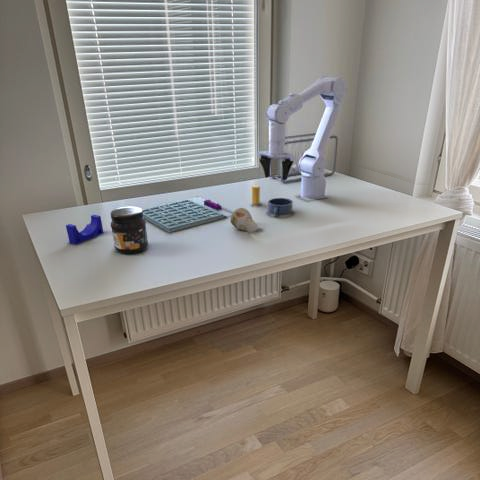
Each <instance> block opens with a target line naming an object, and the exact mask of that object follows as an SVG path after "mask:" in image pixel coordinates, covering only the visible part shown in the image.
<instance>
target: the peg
mask: <svg viewBox="0 0 480 480" xmlns="http://www.w3.org/2000/svg"><path fill="white" fill-rule="evenodd" d="M260 203H261V186H260V185H257V184H255V185H252V186H251V204H252V205H259V204H260Z"/></svg>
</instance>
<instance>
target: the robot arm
mask: <svg viewBox="0 0 480 480" xmlns="http://www.w3.org/2000/svg"><path fill="white" fill-rule="evenodd" d="M345 81H346V80H345V79H344V78H343V77H334V76H333V77H332V76H321V77H320V78H317V79H316V80H315V82H313V83H311V85H309V86H308V87H306V88H305V89H303V90H302V91H301V92H300V93H297V92H290V93H289V94H288V96H287V97H285V98H284V99H280V100H279V101H278V103H273V104H271V105H270V106H269V107H268V109H267V111H266V112H265V116H266V119H267V121H268V150H259V151H258V158H259V163H260V164H261V167H262V169H263V173H264V178H265V179H266V178H270V177H271V176H270V162H271V158H273V159H276V160H281V159H283V160H284V161H282V167H283V180H288V177H289V176H288V173H289V170H290V168H291V166H292V167H293V164H294V162H295V161H296V159H295V153H294V154H293V153H292V154H291V153H289V152H286V151H285V150H286V149H285V147H286V145H285V141H286V139H285V137H286V123H287V121H288V120H289V118H290V116H292V115H293V114H295V113H297V112H298V111H300V110H301V109H302V108H303V106H304V105H303V104H304V103H306V102H308V101H310V100H312V99H313V98H315V97H318V96H319V97H320V98H321V99H322V101H323V102H324V104H325V110H324V112H323V115H322V117H321V120H320V123H319V125H318V128H317V130H316V132H315V133H316V135H315V136H314V137H313V138H314V140H313V141H312V143H311V146H310V147H309V148H308V149H306V150H305V151H304V152H303V157H302V156H301V158H300V159H299V161H298V163H297V165H298V167H299V170H300V171H299V172H301V174H300V175H301V178H302V180H301V182H300V183H301V184H300V185H301V186H300V196H301V197H303V198H305V199H314V200H321V199H326V198H327V196H326V185H327V180H326V176H324V175H323V174H324V172H325V169H326V162H327V160H328V159H327V157H326V155H325V150H326V149H327V146H328V143H329V141H330V139H329V138H330V136H332V133H333V130H334V128H335V125H336V123H337V120H338V117H339V115H340V113H341V110H342V107H343V103H344V102H343V101H344V97H345V95H346V92H347V90H348V88H347V84H346V82H345Z"/></svg>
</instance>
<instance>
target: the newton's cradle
mask: <svg viewBox="0 0 480 480" xmlns="http://www.w3.org/2000/svg"><path fill="white" fill-rule="evenodd" d="M316 133H317V132H312V133H305V134H303V133H302V134H295V135H288V136H285V146H286V145H290V144H300V143H309V142H313V140H314V138H315V135H316ZM330 139H334V152H333V163H332V170H331V172H327V171H324V172H323V173H322V174H323V175H324V176H325V177H329V176H333V175H334V174H335V172H336V164H337V154H338V153H337V152H338V144H339V139H338V136H337V135H335V134H333V135H331V136H330V138H329V140H330ZM300 146H301V145H299V147H298V150H300V149H301V147H300ZM305 146H306V147H305V149H307V148H308V145H305ZM293 147H294V145H292V146H291V149H293ZM290 154H293V152H291V153H290ZM299 154H300V152H298V153H297V155H296V152H294V155H295V160H296V162H299V161H298V159H299V158H297V156H299ZM303 155H304V152H303V151H301V158H302V157H303ZM273 159H274V158H271V162H270V176H269V177H270V178H271V179H277V180H279V181H281V182H282V183H283V184H288V183H294V182H300V181H302V177H297V178H292V179H291V178H290V179H286V180H283V167H282V161H285V160H283V159H280V174H277V175H276V174H275V175H274V174H273V163H274V161H273ZM298 175H302V174H301V171H300V170H299V167H298V163H295V164H294V165H292V166H291V168H290V170H289V173H288V177H292V176H298Z"/></svg>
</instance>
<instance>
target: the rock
mask: <svg viewBox="0 0 480 480" xmlns="http://www.w3.org/2000/svg"><path fill="white" fill-rule="evenodd" d="M230 224H231V225H232V226H233V227H234V228H235V229H238V230H243V231H246V232H247V233H248V234H252V233H254V232H257V231H258V230H260V228H259V225H258V223H257V222H255V220H254V219H253V217H252V214H251V212H250V211H249V209H247V208H244V207H239V208H237V209H235V210H234V211H233V212H232V214H231V215H230Z"/></svg>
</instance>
